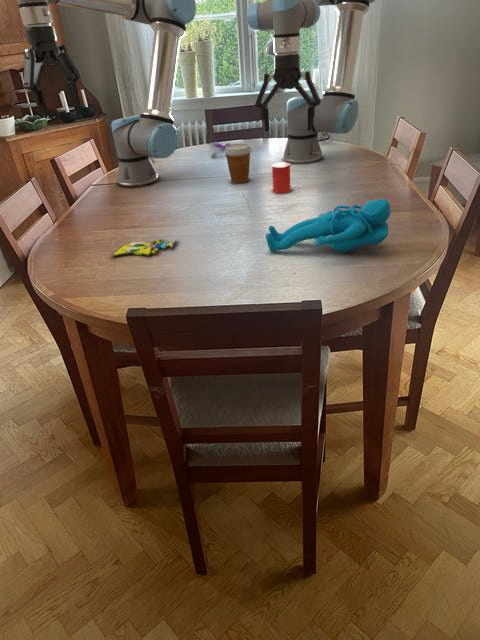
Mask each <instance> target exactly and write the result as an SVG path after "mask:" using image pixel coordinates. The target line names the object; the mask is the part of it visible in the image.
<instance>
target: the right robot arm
mask: <svg viewBox="0 0 480 640" xmlns="http://www.w3.org/2000/svg"><path fill="white" fill-rule="evenodd" d="M373 2H376V0H265V1H262V2H259V1H257V2H255V3H251V4H249V6H248V7H247V10H246V15H245V16H246V24H247V26H248V28H249V30H251V31H252V32H266V31H268V32H269V31H273V53H274V54H275V55H274V57H273V63H274V65H273V66H274V71H273V73H270V72H265V73H264V74H263V83H262V86H261V88H260V90H259V93H258V95H257V98H256V100H255V103H254V106H255V108H259V109H260V113H261V114H260V117H261V120H262V121H264V132H268V131H270V114H269V110H270V109H269V107H267V106H268V105H269V103H270V101H271V100H272V99H273V97H274V96H275V95H276V93H277V92H278V91H279V89H281V90H286V89H287V90H292V89H295V90H296V91H297V92H298V93H299V94H300V95H298V96H295V97H292V98H290V99H288V101H287V103H286V126H287V129H286V131H287V141H286V145H285V148H284V150H283V161H284V162H285V163H289V164H310V163H315V162H318V161H320V160H321V159H322V158H323V153H322V149H321V145H320V142H325V141H329V140H330V135H329V134H336V135H339V134H348V133H350V132H351V131H352V129H353V128H354V126H355V125H356V122H357V120H358V116H359V110H360V109H359V106H360V105H359V101H358V100H357V99H356V94H355V93H354V91H353V84H354V77H355V72H356V65H357V64H356V63H357V57H358V51H359V46H360V45H359V44H360V38H361V31H362V27H363V20H364V19H363V18H364V15H365V14H366V13H367V12H368V11H369V9H370V4H371V3H373ZM323 6H325V7H326V6H334V9H335V11H336V12H337V14H338V15H337V20H336V21H337V22H336V28H335V34H334V35H335V36H334V41H333V42H334V43H333V50H332V56H331V57H332V58H331V63H330V71H329V77H328V85H327V88H326V89H325V90H324V91H323V92H322V98H320V96H319V93H318V91H317V89H316V87H315V84H314V82H313V80H312V73H311V71H310V70H307V71H303V72H301V55H300V53H299V52H300V51H301V36H300V33H301V32H300V31H301V29H309V28H311V27H313V26H316V24H317V23H318V22H319V20H320V16H321V7H323ZM301 78H303V80H304V81H305V82H306V85H307V86H308V89H309V91H310V94H309V93H308V92H307V90H305V88H304V87H303V86H302V84H301V83H300V80H301ZM272 79H273V80H274V82H275V85H274V86H273V88H272V90H270V91H269V94H268V95H267V96H266V98H265V99H264V97H265V94H266V91H267V89H268V86H269V83H270V82H271V81H272ZM263 99H264V100H263ZM262 101H263V102H262ZM318 133H322V136H323V137H325V136H326V138H319V139H318Z"/></svg>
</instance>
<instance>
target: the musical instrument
mask: <svg viewBox="0 0 480 640" xmlns="http://www.w3.org/2000/svg"><path fill="white" fill-rule="evenodd" d="M212 144H213V145H214V146H217V147H219V149H217V150H216V151H215V152H213V153H212V154H211V156H212V157H213V158H215V157H217V158H222V157H226V154H224V155H216V154H217V153H218V152H219V151H221V150H222V149H224V150H225V147H226V146H228V145H232V144H233V143H226V144H221V143H220V142H218V141H213V142H212Z"/></svg>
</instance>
